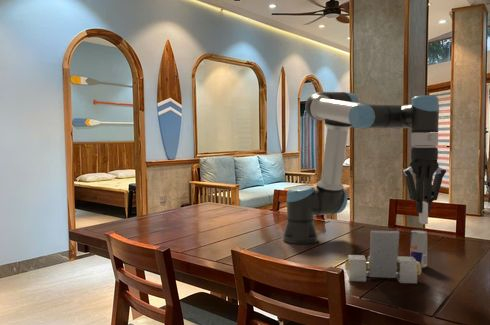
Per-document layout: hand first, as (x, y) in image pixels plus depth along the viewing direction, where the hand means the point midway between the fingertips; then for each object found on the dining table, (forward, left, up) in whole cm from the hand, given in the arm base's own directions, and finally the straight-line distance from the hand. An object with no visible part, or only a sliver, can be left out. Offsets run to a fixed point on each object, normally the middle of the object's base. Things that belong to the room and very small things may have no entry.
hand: (423, 223), depth 125 cm
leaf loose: (-12, -4, -9) cm, 16 cm away
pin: (-12, -1, -16) cm, 20 cm away
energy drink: (+3, +15, -18) cm, 24 cm away
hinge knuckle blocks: (-12, +3, -18) cm, 22 cm away
